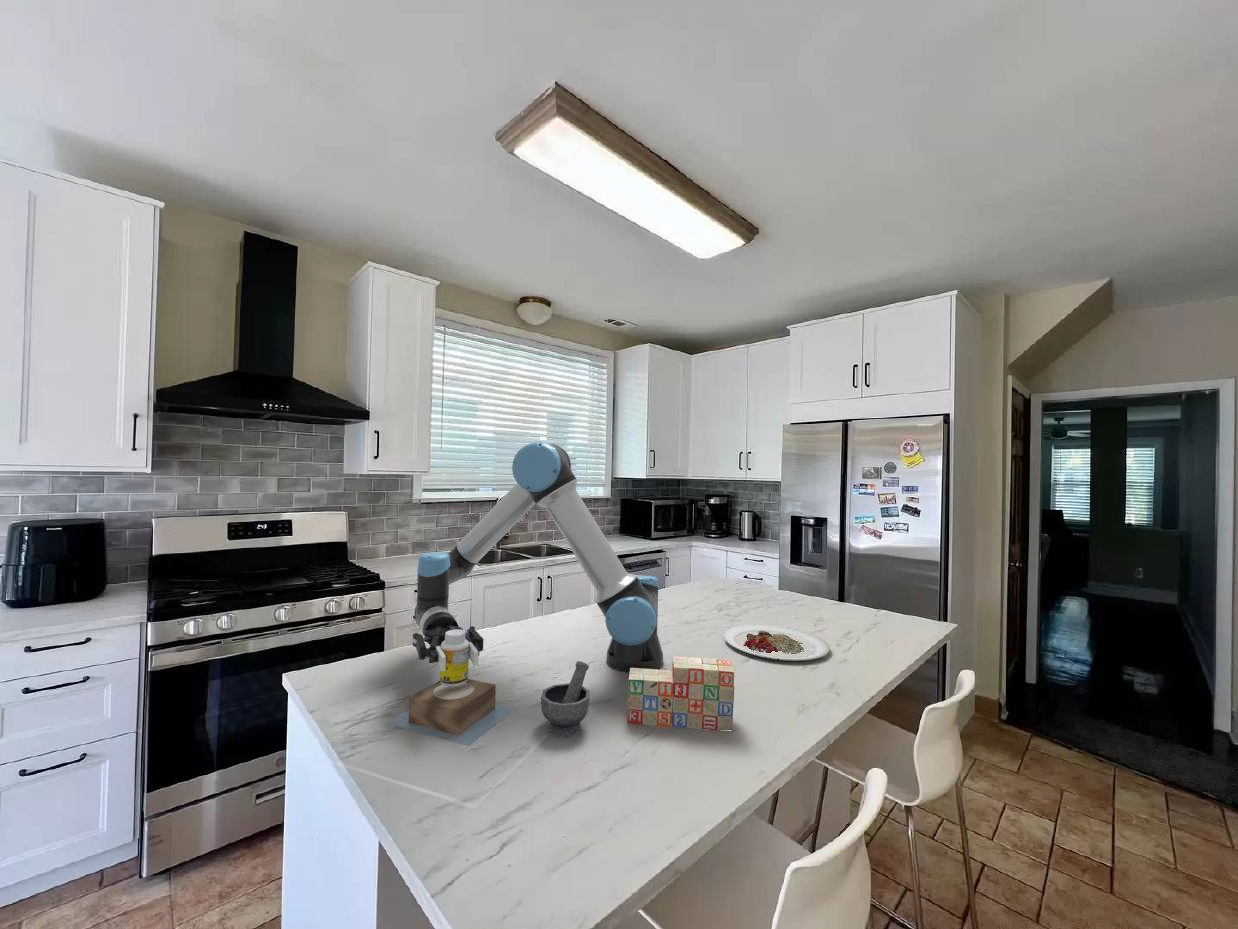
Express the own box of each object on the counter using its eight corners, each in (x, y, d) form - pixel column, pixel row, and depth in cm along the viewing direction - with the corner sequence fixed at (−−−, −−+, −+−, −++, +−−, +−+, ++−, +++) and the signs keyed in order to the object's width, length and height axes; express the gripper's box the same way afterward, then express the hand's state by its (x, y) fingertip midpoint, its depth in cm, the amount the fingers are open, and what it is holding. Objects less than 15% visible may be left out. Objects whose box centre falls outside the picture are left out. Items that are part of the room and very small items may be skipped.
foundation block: (495, 708, 109) (495, 683, 109) (458, 735, 98) (459, 708, 98) (449, 697, 113) (449, 674, 113) (408, 722, 102) (409, 696, 102)
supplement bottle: (436, 679, 107) (438, 630, 107) (463, 674, 110) (464, 626, 110) (443, 690, 102) (445, 638, 102) (471, 684, 105) (473, 634, 105)
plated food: (838, 643, 159) (838, 632, 159) (817, 675, 133) (817, 662, 133) (743, 624, 175) (743, 614, 175) (708, 650, 149) (709, 638, 149)
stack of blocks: (626, 724, 105) (628, 664, 105) (628, 710, 111) (630, 653, 111) (733, 732, 103) (734, 671, 103) (729, 717, 109) (731, 659, 109)
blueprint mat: (516, 710, 110) (516, 708, 110) (469, 747, 95) (469, 745, 95) (440, 692, 117) (440, 690, 117) (385, 725, 102) (385, 723, 102)
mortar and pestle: (566, 747, 96) (568, 682, 96) (530, 731, 101) (531, 669, 101) (602, 723, 105) (604, 664, 105) (567, 709, 110) (569, 653, 110)
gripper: (478, 637, 126) (506, 672, 106) (395, 649, 117) (408, 689, 97) (479, 607, 126) (507, 636, 106) (396, 615, 117) (410, 649, 97)
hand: (460, 661), depth 101 cm, fingers closed on supplement bottle, 6 cm apart
